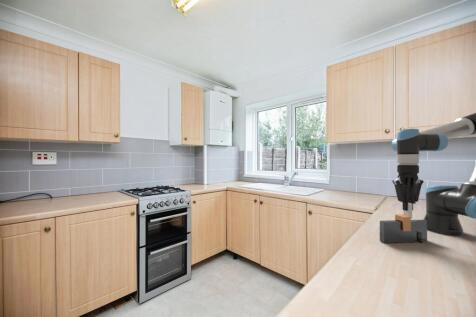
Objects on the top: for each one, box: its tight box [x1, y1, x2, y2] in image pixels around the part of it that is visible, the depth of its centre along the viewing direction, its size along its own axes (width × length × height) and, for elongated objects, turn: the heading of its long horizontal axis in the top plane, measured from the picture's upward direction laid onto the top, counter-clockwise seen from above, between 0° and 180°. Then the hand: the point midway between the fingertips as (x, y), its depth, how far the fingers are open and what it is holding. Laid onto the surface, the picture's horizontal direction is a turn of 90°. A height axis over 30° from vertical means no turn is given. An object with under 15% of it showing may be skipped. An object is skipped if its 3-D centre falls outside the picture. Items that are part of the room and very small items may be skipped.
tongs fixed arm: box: [379, 219, 428, 244], centre depth 92 cm, size 22×3×9 cm, turn 95°
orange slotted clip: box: [394, 213, 412, 231], centre depth 92 cm, size 3×4×6 cm
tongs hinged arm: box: [381, 220, 418, 244], centre depth 91 cm, size 15×1×9 cm, turn 94°
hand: (407, 217), depth 92 cm, fingers closed
